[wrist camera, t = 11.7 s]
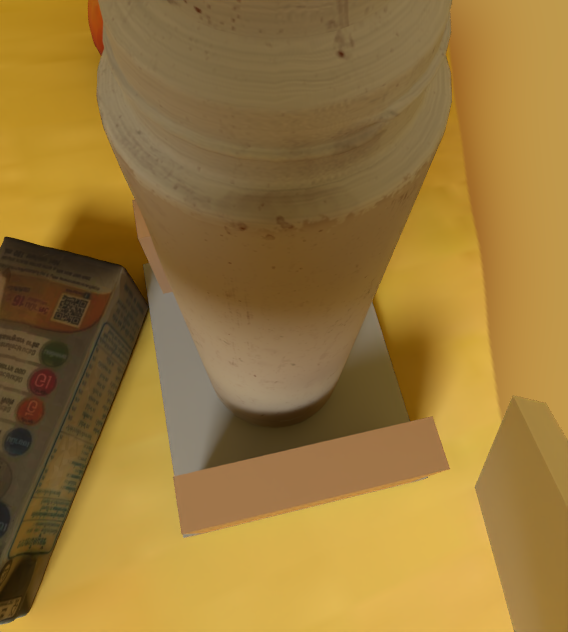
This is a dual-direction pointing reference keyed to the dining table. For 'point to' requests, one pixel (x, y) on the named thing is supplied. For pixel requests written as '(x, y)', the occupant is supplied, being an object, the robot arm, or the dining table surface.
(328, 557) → the dining table surface
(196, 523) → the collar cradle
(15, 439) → the beverage carton
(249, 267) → the thermos bottle
